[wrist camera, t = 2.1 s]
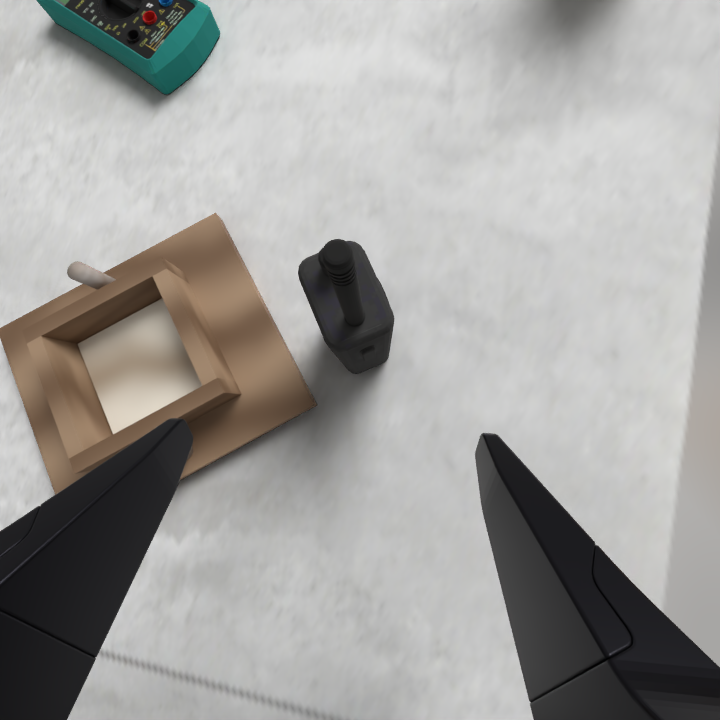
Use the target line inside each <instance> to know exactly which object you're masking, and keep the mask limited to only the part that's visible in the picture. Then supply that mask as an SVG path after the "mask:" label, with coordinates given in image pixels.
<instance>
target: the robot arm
mask: <svg viewBox="0 0 720 720" xmlns="http://www.w3.org/2000/svg"><path fill="white" fill-rule="evenodd" d="M192 444H193V435H192V432H191V430H190V428H189V426H188V424H187V422H186V421H185V420H184V419H182V418H170V419H168V420H166V421H165V422H163V423H162V424H160V425H159V426H157V427H156V428H154V429H153V430H151V431H150V432H148V433H147V434H145V435H144V436H142V437H141V438H139V439H138V440H136V441H135V442H133V443H132V444H130V445H129V446H127V447H126V448H125V449H123V450H122V451H120V452H119V453H117V454H116V455H114V456H113V457H111V458H110V459H108V460H107V461H105V462H104V463H102V464H101V465H99V466H98V467H96V468H95V469H93V470H92V471H90V472H89V473H87V474H86V475H84V476H83V477H81V478H80V479H78V480H77V481H75V482H74V483H72V484H71V485H69V486H68V487H66V488H65V489H63V490H62V491H60V492H59V493H57V494H56V495H54V496H53V497H51V498H50V499H48V500H47V501H45V502H44V503H42V504H41V506H38V507H36V508H35V509H33V510H32V511H30V512H29V513H27V514H26V515H24V516H23V517H21V518H20V519H18V520H17V521H15V522H14V523H12V524H11V525H9V526H8V527H6V528H5V529H3V530H1V531H0V720H67V718H68V716H69V714H70V712H71V710H72V708H73V706H74V704H75V702H76V700H77V697H78V695H79V693H80V691H81V689H82V687H83V685H84V683H85V681H86V679H87V676H88V674H89V672H90V670H91V668H92V666H93V664H94V662H95V660H96V658H95V657H97V655H98V653H99V651H100V649H101V647H102V644H103V642H104V640H105V638H106V636H107V634H108V632H109V630H110V628H111V626H112V623H113V621H114V619H115V617H116V615H117V613H118V611H119V609H120V607H121V605H122V602H123V600H124V598H125V596H126V594H127V592H128V590H129V588H130V586H131V584H132V581H133V579H134V577H135V575H136V573H137V571H138V569H139V567H140V565H141V563H142V560H143V558H144V556H145V554H146V552H147V550H148V548H149V546H150V544H151V541H152V539H153V537H154V535H155V533H156V531H157V529H158V527H159V525H160V523H161V520H162V518H163V516H164V514H165V512H166V510H167V508H168V506H169V504H170V502H171V499H172V497H173V495H174V493H175V491H176V488H177V486H178V483H179V481H180V478H181V475H182V472H183V469H184V467H185V464H186V461H187V458H188V455H189V453H190V450H191V447H192ZM475 459H476V467H477V474H478V482H479V490H480V498H481V505H482V510H483V515H484V519H485V523H486V527H487V532H488V536H489V540H490V544H491V548H492V552H493V556H494V560H495V564H496V568H497V572H498V576H499V580H500V584H501V588H502V592H503V596H504V600H505V604H506V608H507V612H508V616H509V621H510V625H511V629H512V633H513V637H514V641H515V645H516V649H517V653H518V657H519V661H520V665H521V669H522V673H523V677H524V681H525V685H526V689H527V693H528V697H529V701H530V702H531V703H530V706H531V710H532V714H533V718H534V720H720V667H719V666H717V665H716V663H714V662H713V661H712V660H711V659H710V658H709V657H708V656H707V655H706V654H705V653H704V652H703V651H702V650H701V649H700V648H699V647H698V646H697V645H696V644H695V643H694V642H693V641H692V640H691V639H689V638H688V637H687V636H686V635H685V634H684V633H683V632H682V631H681V630H680V629H679V628H678V627H677V626H676V625H675V624H674V623H673V622H672V621H671V620H670V619H669V618H668V617H667V616H666V615H665V614H664V613H663V612H662V611H660V610H659V609H658V608H657V607H656V606H655V605H654V604H653V603H652V602H651V601H650V600H649V599H648V598H647V597H646V596H645V595H644V594H643V593H642V592H641V591H640V590H639V589H638V588H637V587H636V586H635V585H634V584H633V583H632V582H631V581H630V580H629V579H628V577H627V576H626V575H625V574H624V573H623V572H622V571H621V570H620V569H619V568H618V567H617V566H616V565H615V564H614V563H613V562H612V560H611V559H610V558H609V557H608V556H607V555H606V554H605V553H604V552H603V551H602V549H601V548H600V547H599V546H598V545H595V542H594V541H593V540H592V539H591V537H590V536H589V535H588V534H587V533H586V532H585V531H584V530H583V529H582V528H581V526H580V525H579V524H578V523H577V522H576V521H575V520H574V519H573V518H572V517H571V515H570V514H569V513H568V512H567V511H566V510H565V509H564V508H563V507H562V505H561V504H560V503H559V502H558V501H557V500H556V499H555V498H554V497H553V496H552V494H551V493H550V492H549V491H548V490H547V489H546V488H545V487H544V486H543V485H542V483H541V482H540V481H539V480H538V479H537V478H536V477H535V476H534V475H533V473H532V472H531V471H530V470H529V469H528V468H527V467H526V466H525V465H524V464H523V462H522V461H521V460H520V459H519V458H518V457H517V456H516V455H515V454H514V452H513V451H512V450H511V449H510V448H509V447H508V446H507V445H506V444H505V443H504V441H503V440H502V439H501V438H500V437H499V436H498V435H497V434H492V433H483V434H481V436H480V439H479V442H478V445H477V448H476V452H475Z"/></svg>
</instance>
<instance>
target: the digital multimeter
mask: <svg viewBox="0 0 720 720" xmlns="http://www.w3.org/2000/svg"><path fill="white" fill-rule="evenodd" d="M98 1H99V2H98ZM37 2H38V3H39V4H40V5H41V6H42V7H43V9H44V10H45V11H46V12H47V13H48V14H49V16H50V17H51V18H52V19H53V20H54V21H55V23H57V24H58V25H60V26H62V27H64V28H65V29H67V30H69V31H71V32H72V33H74V34H76V35H78V36H79V37H81V38H83V39H85V40H86V41H88V42H90V43H91V44H93V45H94V46H96V47H98V48H99V49H101V50H102V51H104V52H106V53H107V54H109V55H110V56H112V57H113V58H115V59H116V60H118V61H119V62H121V63H122V64H123V65H125V66H126V67H128V68H129V69H131V70H132V71H133V72H135V73H136V74H138V75H139V76H140V77H142V78H143V79H144V80H146V81H147V82H149V83H150V84H151V85H153V86H154V87H155V88H157V89H158V90H159V91H161V92H162V93H163V94H170V93H171V92H172V91H174V90H175V89H176V88H178V87H179V86H180V85H182V84H183V83H184V82H185V81H186V80H187V79H188V78H189V77H191V76H192V75H193V74H194V73H195V72H196V71H197V70H198V69H199V67H200V66H201V65H202V64H203V63H204V62H205V60H206V58H207V57H208V55H209V54H210V52H211V51H212V49H213V47H214V45H215V43H216V41H217V39H218V37H219V35H220V31H219V28H218V26H217V24H216V21H215V19H214V17H213V14H212V12H211V10H210V8H209V7H208V6H207V5H206V4H204V3H202V2H200V1H198V0H37ZM98 8H99V9H98ZM72 11H73V12H72ZM75 13H76V14H75ZM78 15H79V16H78ZM81 17H82V18H81ZM86 20H87V21H86ZM89 22H90V23H89ZM92 24H93V25H92ZM95 26H96V27H95ZM100 29H101V30H100ZM103 31H104V32H103ZM106 33H107V34H106ZM109 35H110V36H109ZM114 38H115V39H114ZM117 40H118V41H117ZM120 42H121V43H120ZM123 44H124V45H123ZM128 47H129V48H128ZM131 49H132V50H131ZM134 51H135V52H134Z"/></svg>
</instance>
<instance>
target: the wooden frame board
mask: <svg viewBox="0 0 720 720" xmlns="http://www.w3.org/2000/svg"><path fill="white" fill-rule="evenodd" d="M67 274H68V276H69V277H70V278H71V279H73V280H75V281H78V282H80V283H83V284H82V285H80V286H78V287H76V288H74V289H72V290H71V291H69V292H67V293H65V294H63V295H61V296H59V297H57V298H56V299H54V300H52V301H50V302H48V303H46V304H44V305H43V306H41V307H39V308H37V309H35V310H33V311H31V312H29V313H28V314H26V315H24V316H22V317H20V318H18V319H16V320H15V321H13V322H11V323H9V324H7V325H5V326H3V327H1V328H0V339H1V341H2V344H3V347H4V350H5V353H6V356H7V358H8V361H9V364H10V367H11V370H12V373H13V375H14V378H15V381H16V384H17V387H18V390H19V392H20V395H21V398H22V401H23V404H24V407H25V409H26V412H27V415H28V418H29V421H30V424H31V426H32V429H33V432H34V435H35V438H36V441H37V444H38V446H39V449H40V452H41V455H42V458H43V461H44V463H45V466H46V469H47V472H48V475H49V478H50V480H51V483H52V486H53V489H54V492H55V495H56V494H57V493H59V492H60V491H62V490H63V489H65V488H66V487H68V486H69V485H71V484H72V483H74V482H75V481H77V480H78V479H80V478H81V477H83V476H84V475H86V474H87V473H89V472H90V471H92V470H93V469H95V468H96V467H98V466H99V465H101V464H102V463H104V462H105V461H107V460H108V459H110V458H111V457H113V456H114V455H116V454H117V453H119V452H120V451H122V450H123V449H125V448H126V447H127V446H129V445H130V444H132V443H133V442H135V441H136V440H138V439H139V438H141V437H142V436H144V435H145V434H147V433H148V432H150V431H151V430H153V429H154V428H156V427H157V426H159V425H160V424H162V423H163V422H165V421H166V420H168V419H170V418H182V419H184V420H185V421H186V422H187V424H188V426H189V428H190V430H191V432H192V435H193V444H192V447H191V450H190V453H189V455H188V458H187V461H186V464H185V467H184V469H183V472H182V475H181V478H180V480H182V479H184V478H186V477H188V476H189V475H191V474H193V473H195V472H197V471H198V470H200V469H202V468H204V467H206V466H208V465H209V464H211V463H213V462H215V461H217V460H218V459H220V458H222V457H224V456H226V455H228V454H229V453H231V452H233V451H235V450H237V449H239V448H240V447H242V446H244V445H246V444H248V443H249V442H251V441H253V440H255V439H257V438H259V437H260V436H262V435H264V434H266V433H268V432H269V431H271V430H273V429H275V428H277V427H279V426H280V425H282V424H284V423H286V422H288V421H290V420H291V419H293V418H295V417H297V416H299V415H300V414H302V413H304V412H306V411H308V410H310V409H311V408H313V407H315V406H317V404H316V402H315V400H314V398H313V396H312V394H311V392H310V390H309V388H308V386H307V384H306V383H305V381H304V379H303V377H302V375H301V373H300V371H299V369H298V367H297V365H296V363H295V361H294V359H293V357H292V355H291V353H290V351H289V349H288V347H287V346H286V344H285V342H284V340H283V338H282V336H281V334H280V332H279V330H278V328H277V326H276V324H275V322H274V320H273V318H272V316H271V314H270V312H269V311H268V309H267V307H266V305H265V303H264V301H263V299H262V297H261V295H260V293H259V291H258V289H257V287H256V285H255V283H254V281H253V279H252V277H251V275H250V274H249V272H248V270H247V268H246V266H245V264H244V262H243V260H242V258H241V256H240V254H239V252H238V250H237V248H236V246H235V244H234V242H233V240H232V239H231V237H230V235H229V233H228V231H227V229H226V227H225V225H224V223H223V221H222V220H221V218H220V217H219V216H218V215H217V214H216V213H214V214H212V215H211V216H209V217H207V218H205V219H203V220H201V221H199V222H198V223H196V224H194V225H192V226H190V227H188V228H186V229H184V230H183V231H181V232H179V233H177V234H175V235H173V236H171V237H170V238H168V239H166V240H164V241H162V242H160V243H158V244H156V245H155V246H153V247H151V248H149V249H147V250H145V251H143V252H142V253H140V254H138V255H136V256H134V257H132V258H130V259H128V260H127V261H125V262H123V263H121V264H119V265H117V266H115V267H113V268H112V269H110V270H108V271H106V272H104V273H102V272H100V271H98V270H96V269H94V268H92V267H90V266H88V265H86V264H84V263H82V262H74V263H72V264H71V265H70V266H69V268H68V270H67Z"/></svg>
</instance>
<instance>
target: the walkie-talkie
mask: <svg viewBox="0 0 720 720" xmlns="http://www.w3.org/2000/svg"><path fill="white" fill-rule="evenodd" d="M298 275H299V280H300V282H301V285H302V287H303V289H304V292H305V294H306V297H307V299H308V301H309V304H310V306H311V309H312V311H313V313H314V316H315V318H316V321H317V323H318V326H319V328H320V330H321V333H322V335H323V338H324V340H325V342H326V343H327V345H328V346H329V348H330V349H331V350H332V351H333V352H334V354H335V355H336V356H337V357H338V358H339V360H340V361H341V362H342V363H343V364H344V365H345V367H346V368H347V369H348V370H349V371H350V372H352V373H355V374H357V373H361V372H363V371H365V370H368V369H370V368H372V367H375V366H377V365H379V364H382V363H384V362H385V361H386V360H387V359H388V357H389V351H390V344H391V338H392V331H393V325H394V315H393V312H392V310H391V307H390V305H389V302H388V299H387V297H386V294H385V292H384V290H383V287H382V285H381V283H380V282H379V280H378V278H377V277H376V275H375V273H374V270H373V268H372V266H371V264H370V262H369V260H368V257H367V255H366V253H365V251H364V250H363V248H362V247H361V246H360V245H359V244H357V243H356V242H352V241H344V240H341V239H334V240H331V241H329V242H328V243H327V244H326V245H325V246H324V248H322V249H321V250H320V252H319V253H317V254H315V255H312V256H310V257H308V258H306V259H305V260H303V261H302V263H301V264H300V266H299V270H298Z"/></svg>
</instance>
